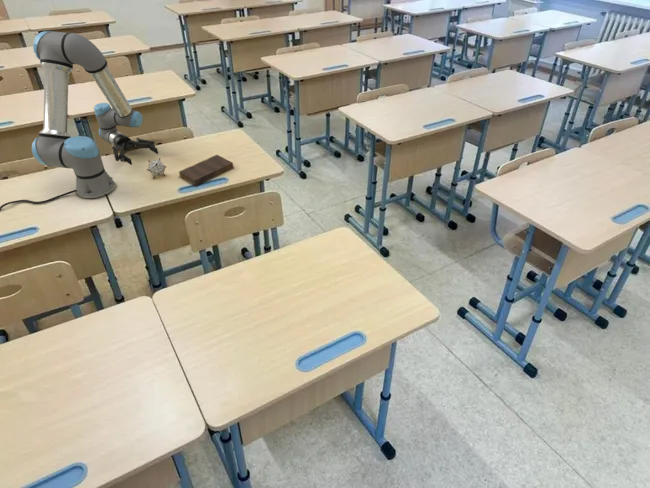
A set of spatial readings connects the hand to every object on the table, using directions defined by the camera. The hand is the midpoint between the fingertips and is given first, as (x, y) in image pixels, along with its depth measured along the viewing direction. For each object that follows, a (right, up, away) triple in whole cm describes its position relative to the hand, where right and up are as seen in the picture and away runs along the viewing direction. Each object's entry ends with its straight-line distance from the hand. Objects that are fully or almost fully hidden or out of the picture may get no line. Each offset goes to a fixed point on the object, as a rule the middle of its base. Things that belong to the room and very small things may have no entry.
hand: (144, 156), depth 210 cm
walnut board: (+29, -7, +3) cm, 30 cm away
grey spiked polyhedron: (+7, -9, 0) cm, 11 cm away
